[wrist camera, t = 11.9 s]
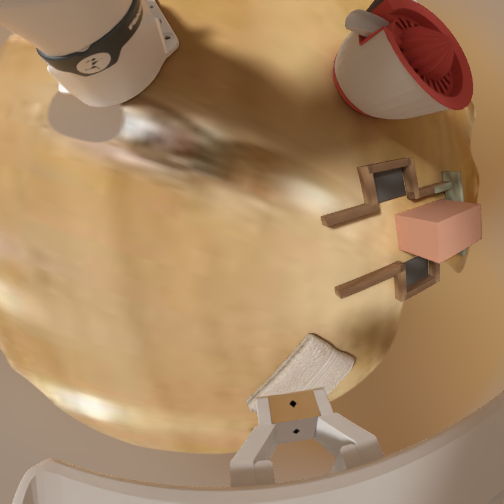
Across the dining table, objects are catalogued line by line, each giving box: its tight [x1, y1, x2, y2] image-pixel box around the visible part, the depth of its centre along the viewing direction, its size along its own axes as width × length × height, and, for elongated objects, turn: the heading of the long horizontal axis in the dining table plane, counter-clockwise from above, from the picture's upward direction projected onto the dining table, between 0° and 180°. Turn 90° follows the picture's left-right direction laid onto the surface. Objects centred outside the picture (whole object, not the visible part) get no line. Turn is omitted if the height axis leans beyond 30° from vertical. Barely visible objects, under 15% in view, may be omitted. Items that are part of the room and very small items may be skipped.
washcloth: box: [246, 333, 355, 412], centre depth 42 cm, size 12×18×3 cm, turn 143°
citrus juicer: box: [333, 0, 473, 119], centre depth 24 cm, size 16×17×20 cm
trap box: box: [321, 157, 466, 302], centre depth 39 cm, size 24×29×4 cm
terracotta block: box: [395, 199, 482, 263], centre depth 36 cm, size 6×13×10 cm, turn 106°
